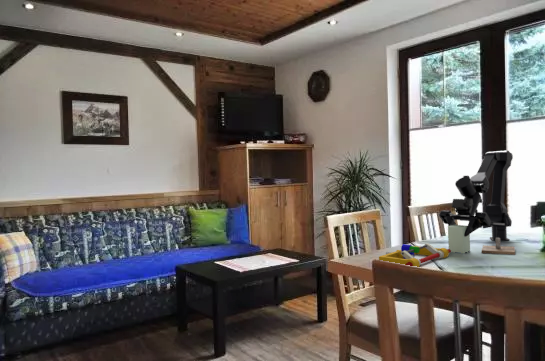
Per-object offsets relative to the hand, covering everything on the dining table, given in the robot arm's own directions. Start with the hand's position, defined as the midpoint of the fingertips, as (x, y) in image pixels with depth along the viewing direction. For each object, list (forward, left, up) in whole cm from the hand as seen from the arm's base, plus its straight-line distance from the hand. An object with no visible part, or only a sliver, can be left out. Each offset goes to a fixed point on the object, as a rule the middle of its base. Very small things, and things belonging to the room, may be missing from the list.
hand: (456, 235), depth 163 cm
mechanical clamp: (+13, -18, -7) cm, 23 cm away
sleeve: (-1, +1, -7) cm, 7 cm away
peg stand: (-2, +15, -7) cm, 16 cm away
